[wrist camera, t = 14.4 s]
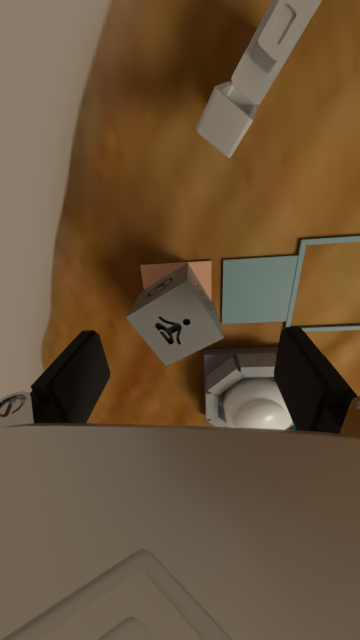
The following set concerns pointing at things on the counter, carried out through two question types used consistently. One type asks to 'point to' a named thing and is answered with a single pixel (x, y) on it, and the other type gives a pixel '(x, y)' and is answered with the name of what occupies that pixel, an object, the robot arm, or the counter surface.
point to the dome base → (232, 375)
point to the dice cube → (176, 316)
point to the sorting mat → (254, 285)
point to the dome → (255, 404)
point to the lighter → (254, 74)
